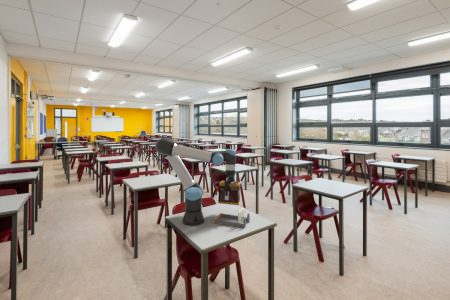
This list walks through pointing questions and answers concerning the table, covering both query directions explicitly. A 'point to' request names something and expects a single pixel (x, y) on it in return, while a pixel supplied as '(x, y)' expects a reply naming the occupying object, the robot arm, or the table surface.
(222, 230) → the table surface
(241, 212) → the pusher
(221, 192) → the supplement box
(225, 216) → the grey tray
